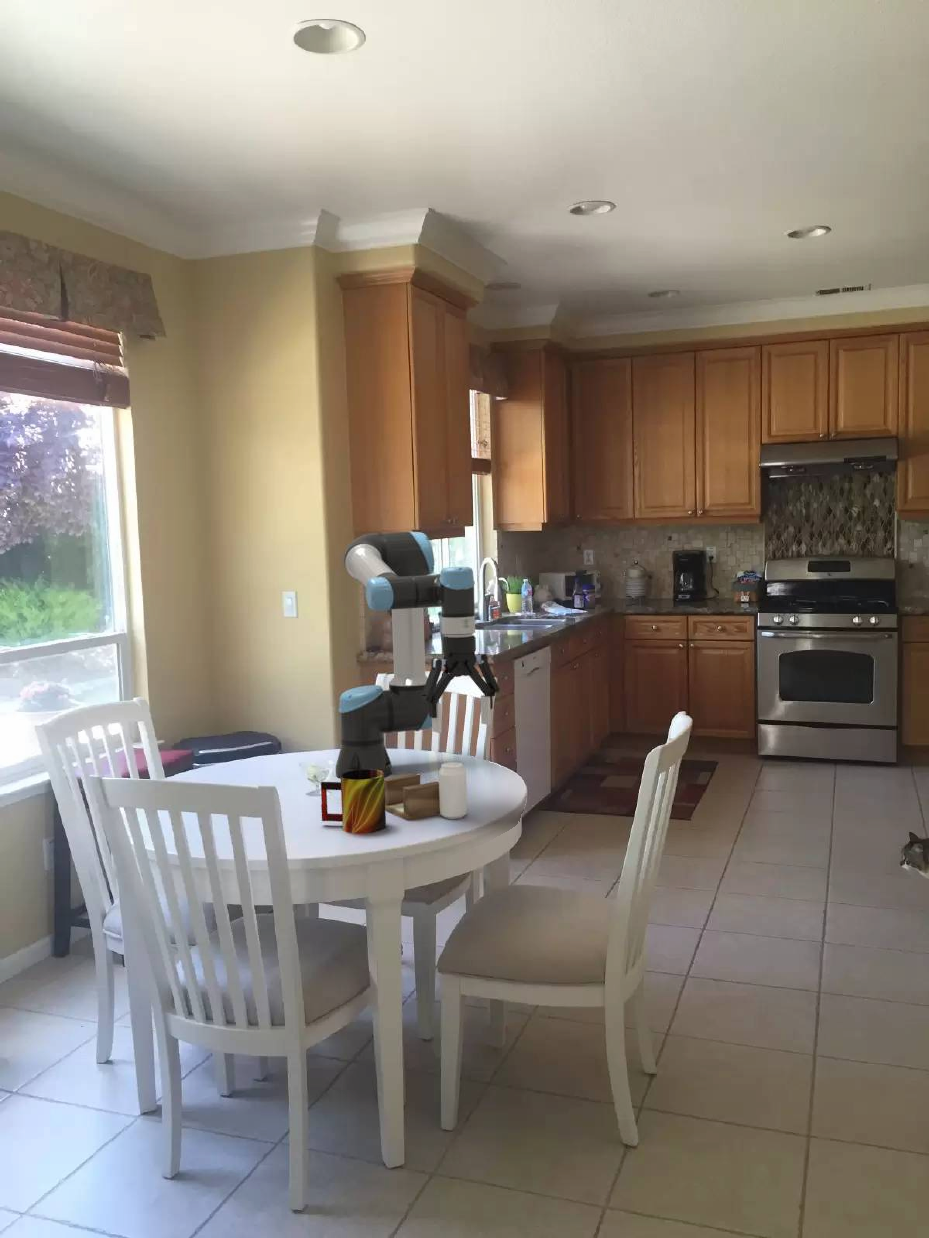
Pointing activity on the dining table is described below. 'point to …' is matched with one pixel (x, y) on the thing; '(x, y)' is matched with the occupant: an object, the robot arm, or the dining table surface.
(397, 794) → the post bracket
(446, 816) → the beverage can
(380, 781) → the mug
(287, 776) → the dining table surface
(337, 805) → the dining table surface
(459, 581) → the robot arm
